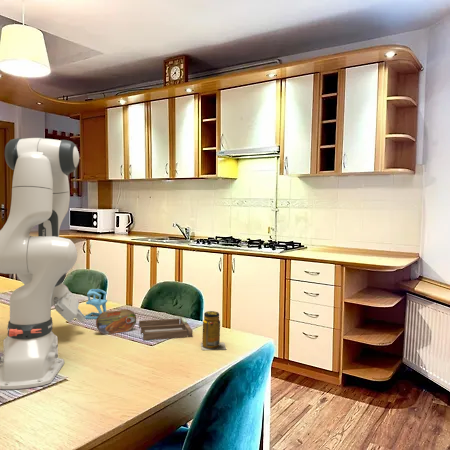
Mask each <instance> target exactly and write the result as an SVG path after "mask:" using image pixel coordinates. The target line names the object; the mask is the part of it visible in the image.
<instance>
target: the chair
mask: <svg viewBox="0 0 450 450" xmlns="http://www.w3.org/2000/svg"><path fill="white" fill-rule="evenodd" d="M100 293H102V294H103V299H101V298H102V294H100ZM107 293H108V292H107V291H105V290H103V289H100V288H91V289H89V290H88V292H87V295H86V296H87V298H88V300H87V301H86V302H85V304H86V305H90V306H93V307H94V308H96V310H97V312H94V311H93V312H90V313H87V314H86V315H84V316H85V317H86V318H85V320H97V317H98V316H99V315H100V314H101V313H103V312H106V311H107V307H106V306H107V305H106V303H108V299H107V298H106V296H107ZM91 296H93V298H91ZM96 297H98V298H96ZM101 307H102V309H101Z"/></svg>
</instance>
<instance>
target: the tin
mask: <svg viewBox="0 0 450 450" xmlns="http://www.w3.org/2000/svg"><path fill="white" fill-rule="evenodd" d="M99 314H100V313H99ZM136 324H137V316H136V314H135V312H134V311H133V310H131V309H127V308H123V309H116V310H115V309H114V310H106V312H103V311H102V313H101V314H100V315H99V316H98V317H97V319H95V326H96V328H97V330H98V331H99V332H100V333H101V334H103V335H111V334H113V335H114V334H119V333H124V332H125V333H126V332H129V331H132V329H133V328H135V326H136Z"/></svg>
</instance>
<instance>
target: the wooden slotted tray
mask: <svg viewBox="0 0 450 450" xmlns="http://www.w3.org/2000/svg"><path fill="white" fill-rule="evenodd" d="M138 328H139V329H140V334H141V335H142V336H143V337H142V340H143V341H151V340H150V339H156V340H170V339H182V338H183V339H184V338H193V335H194V334H193V333H194V331H193V329H192V327H191V326H190V325H189V324H188V320H187V319H186V318H185V317H180V318H165V319H144V320H138ZM142 333H143V334H142Z"/></svg>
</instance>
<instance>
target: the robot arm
mask: <svg viewBox="0 0 450 450" xmlns="http://www.w3.org/2000/svg"><path fill="white" fill-rule="evenodd" d="M78 150H79V149H78V147H77V145H76V144H75V142H73V141H71V140H67V139H60V140H59V139H53V138H44V137H29V138H28V137H27V138H22V137H20V138H19V137H17V138H13V139H10V140H9V141H8V142H7V143H6V144H5V147H4V159H5V163H6V164H7V166H8V168H10V169H11V170H12V171H13V175H12V186H11V187H12V188H11V201H10V210H9V215H8V218H7V220H6V222H5V224H4V225H3V227H2V228H1V229H0V274H5V275H9V274H12V275H14V274H15V275H16V276H17V278H18V279H19V280H20V282H22V284H23V285H21V286H20V287H17V288H15V290H14V291H13V292H11V294H10V297H9V320H8V322H7V323H8V324H7V336H6V337H5V338H4V339H3V355H1V356H0V390H19V389H20V390H21V389H27V388H28V389H30V388H36V387H41V386H45V385H47V384H48V385H49V384H51V383H52V382H53V380H54V379H55V377H56V376H57V374H58V373H59V371H60V370H61V369H62V368H63V366H64V365H65V360H64V358H60V357H59V348H58V347H59V346H58V344H59V343H58V342H59V341H58V340H59V339H58V336H57V335H56V334H55V333H54V332H53V324H54V323H53V317H52V316H51V315H52V314H51V313H52V312H51V311H52V307H54V309H55V310H56V312H57V313H58V314H59V315H60V316H61V317H62V318H64V320H66V321H67V322H68V323H72V322H73V320H75V319H77V320H78V321H80V322H81V323H83V322H85V321H86V319H85V318H86V317H85V316H86V315H84V313H83V312H82V311H81V310H80V309H79V304H80V302H79V301H80V300H78V298H77V297H76V295H75V294H73V293H72V291H70V290H69V287H68V286H67V285H66V284H65V283H63V282H64V281H65V279H66V276H67V274H68V273H69V271H70V270H71V269H72V268H73V267H74V266H75V265H76V263H77V259H78V249H77V246H76V245H75V243H74V242H73V241H72V240H71V238H70V239H69V238H65V237H60V231H61V230H60V228H61V225H62V223H63V221H64V219H65V217H66V215H67V213H68V212H69V207H70V198H71V194H70V192H71V191H70V190H71V189H70V182H69V176H70V174H71V173H74V171H75V170H76V169H77V168H78V166H79V163H80V153H79V151H78ZM37 226H38V229H37V230H38V235H35V236H34V235H31V234H30V233H31V231H32V229H33V228H34V227H37Z"/></svg>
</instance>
